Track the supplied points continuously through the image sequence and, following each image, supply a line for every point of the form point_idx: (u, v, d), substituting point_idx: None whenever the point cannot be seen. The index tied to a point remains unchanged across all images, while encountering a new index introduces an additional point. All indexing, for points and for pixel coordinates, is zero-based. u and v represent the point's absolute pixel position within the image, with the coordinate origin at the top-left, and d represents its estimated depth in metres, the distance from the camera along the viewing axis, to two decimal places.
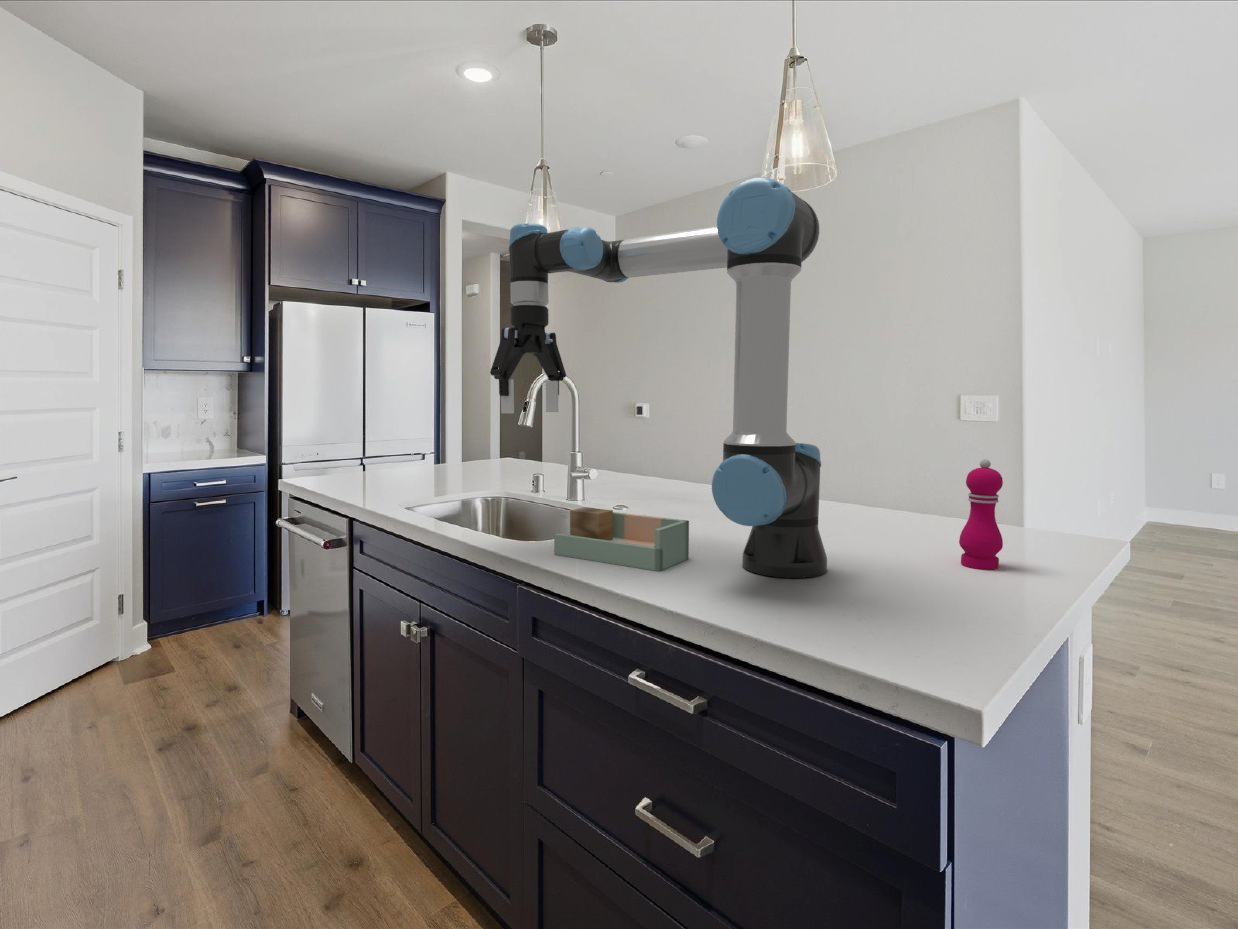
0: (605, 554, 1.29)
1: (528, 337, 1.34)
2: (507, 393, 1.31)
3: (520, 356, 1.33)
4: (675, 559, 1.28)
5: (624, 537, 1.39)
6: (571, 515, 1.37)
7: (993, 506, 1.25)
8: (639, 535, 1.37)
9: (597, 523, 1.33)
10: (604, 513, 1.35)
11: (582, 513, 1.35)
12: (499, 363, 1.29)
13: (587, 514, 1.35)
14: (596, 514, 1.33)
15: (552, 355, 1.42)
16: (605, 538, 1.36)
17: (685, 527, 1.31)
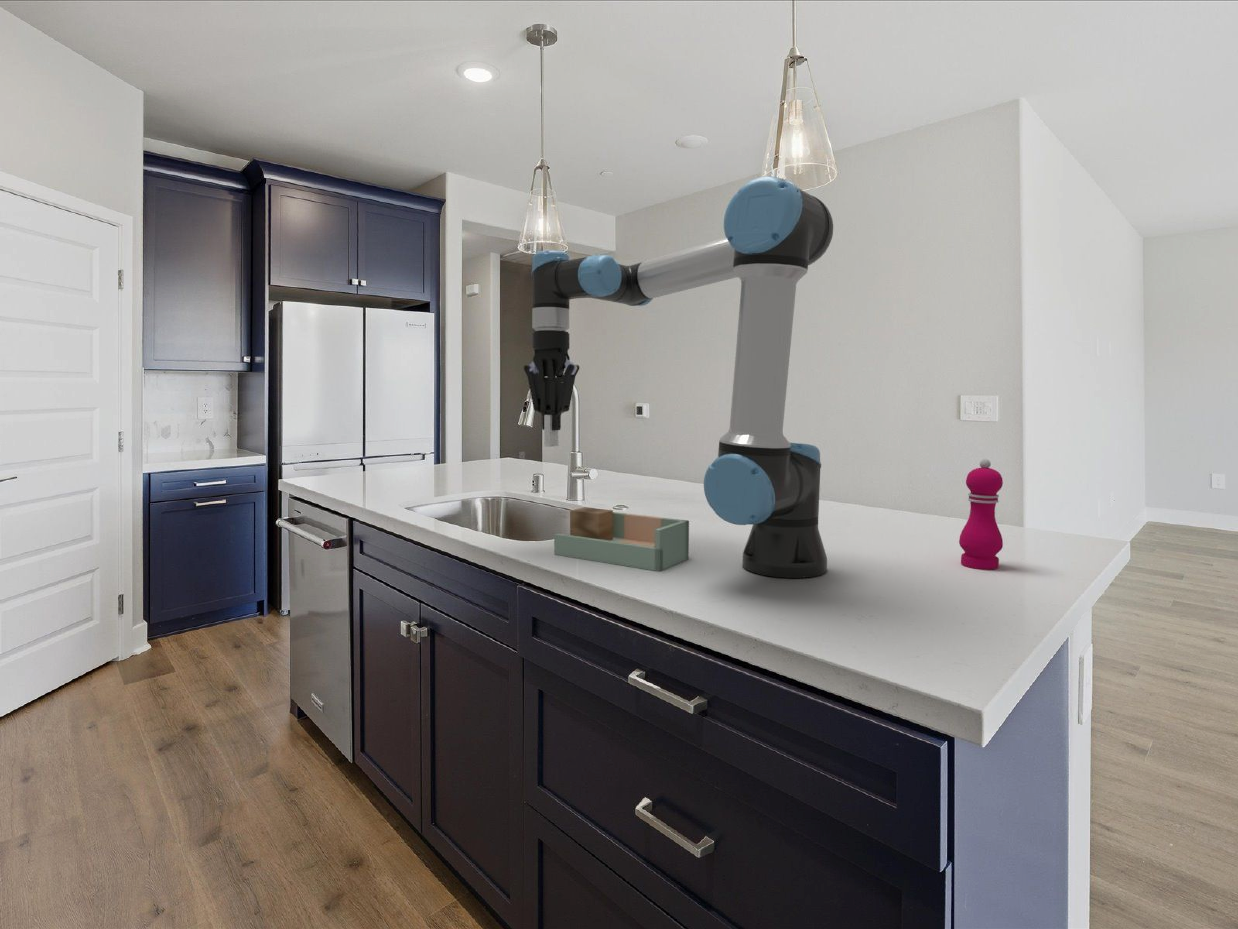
0: (605, 554, 1.29)
1: None
2: None
3: (543, 386, 1.40)
4: (675, 559, 1.28)
5: (624, 537, 1.39)
6: (571, 515, 1.37)
7: (993, 506, 1.25)
8: (639, 535, 1.37)
9: (597, 523, 1.33)
10: (604, 513, 1.35)
11: (582, 513, 1.35)
12: None
13: (587, 514, 1.35)
14: (596, 514, 1.33)
15: None
16: (605, 538, 1.36)
17: (685, 527, 1.31)
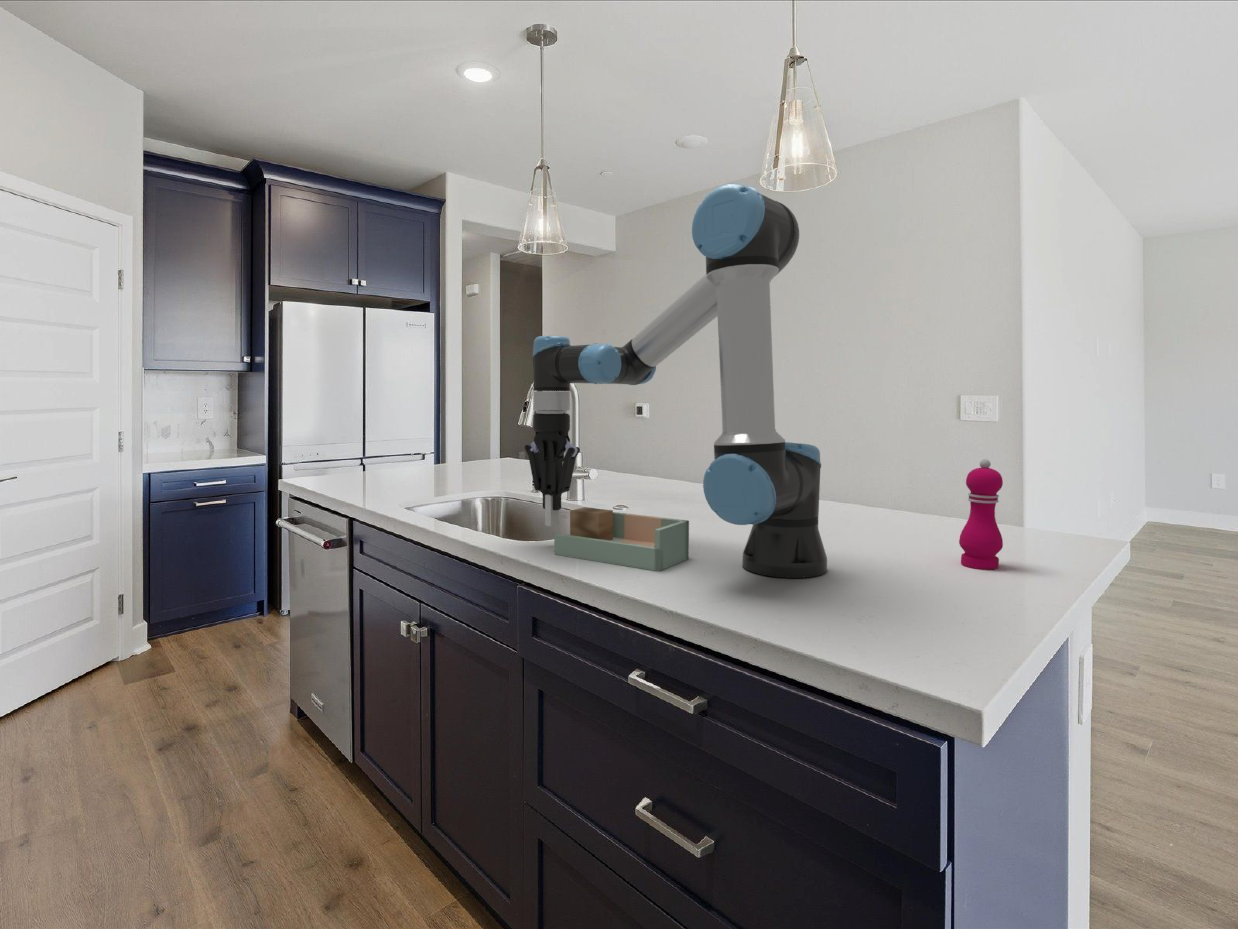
0: (605, 554, 1.29)
1: None
2: None
3: (544, 466, 1.41)
4: (675, 559, 1.28)
5: (624, 537, 1.39)
6: (571, 515, 1.37)
7: (993, 506, 1.25)
8: (639, 535, 1.37)
9: (597, 523, 1.33)
10: (604, 513, 1.35)
11: (582, 513, 1.35)
12: None
13: (587, 514, 1.35)
14: (596, 514, 1.33)
15: None
16: (605, 538, 1.36)
17: (685, 527, 1.31)
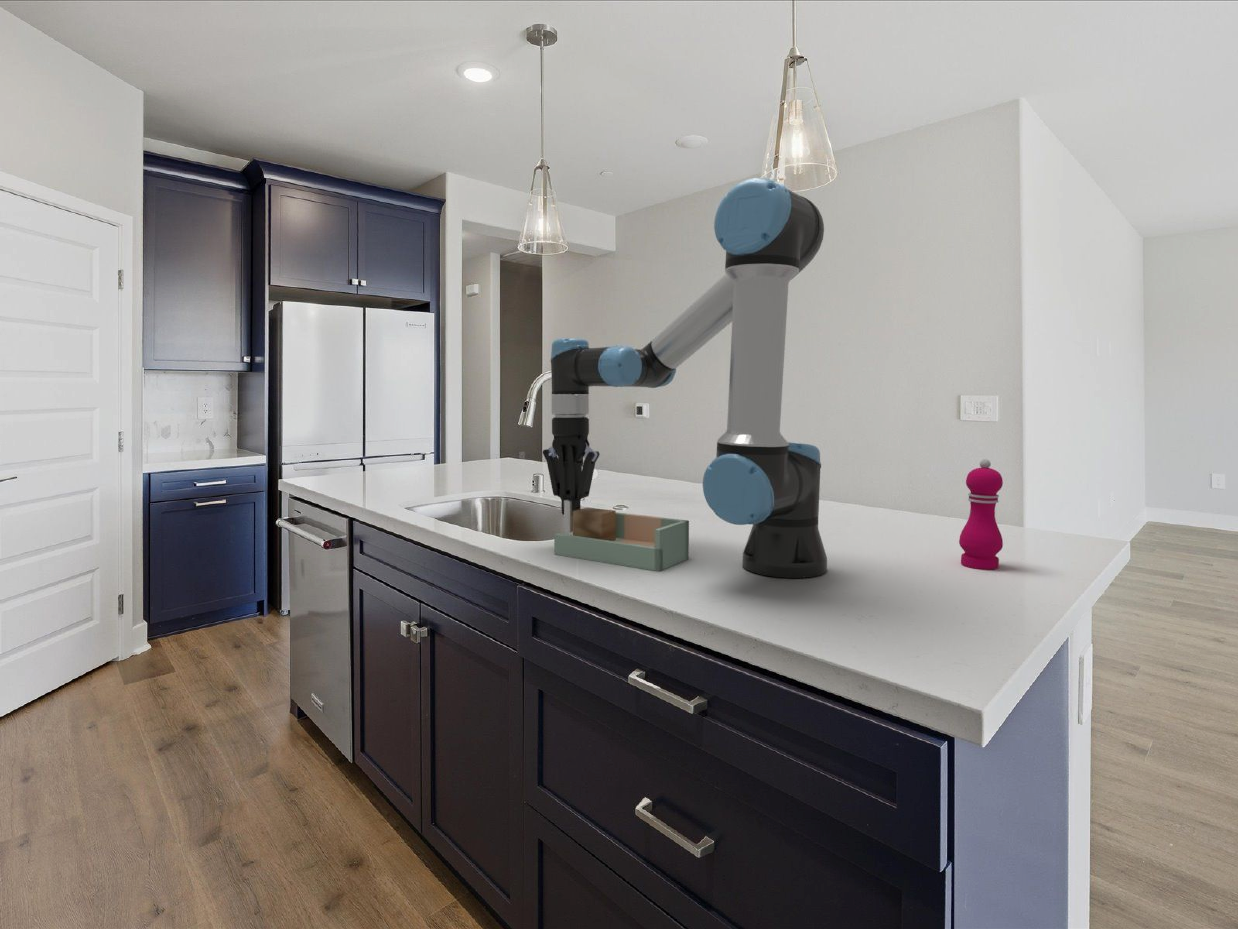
0: (605, 554, 1.29)
1: None
2: None
3: (563, 471, 1.39)
4: (675, 559, 1.28)
5: (624, 537, 1.39)
6: (574, 515, 1.36)
7: (993, 506, 1.25)
8: (639, 535, 1.37)
9: (600, 523, 1.33)
10: (607, 513, 1.34)
11: (585, 513, 1.35)
12: None
13: (590, 514, 1.34)
14: (599, 514, 1.33)
15: None
16: (608, 538, 1.35)
17: (685, 527, 1.31)
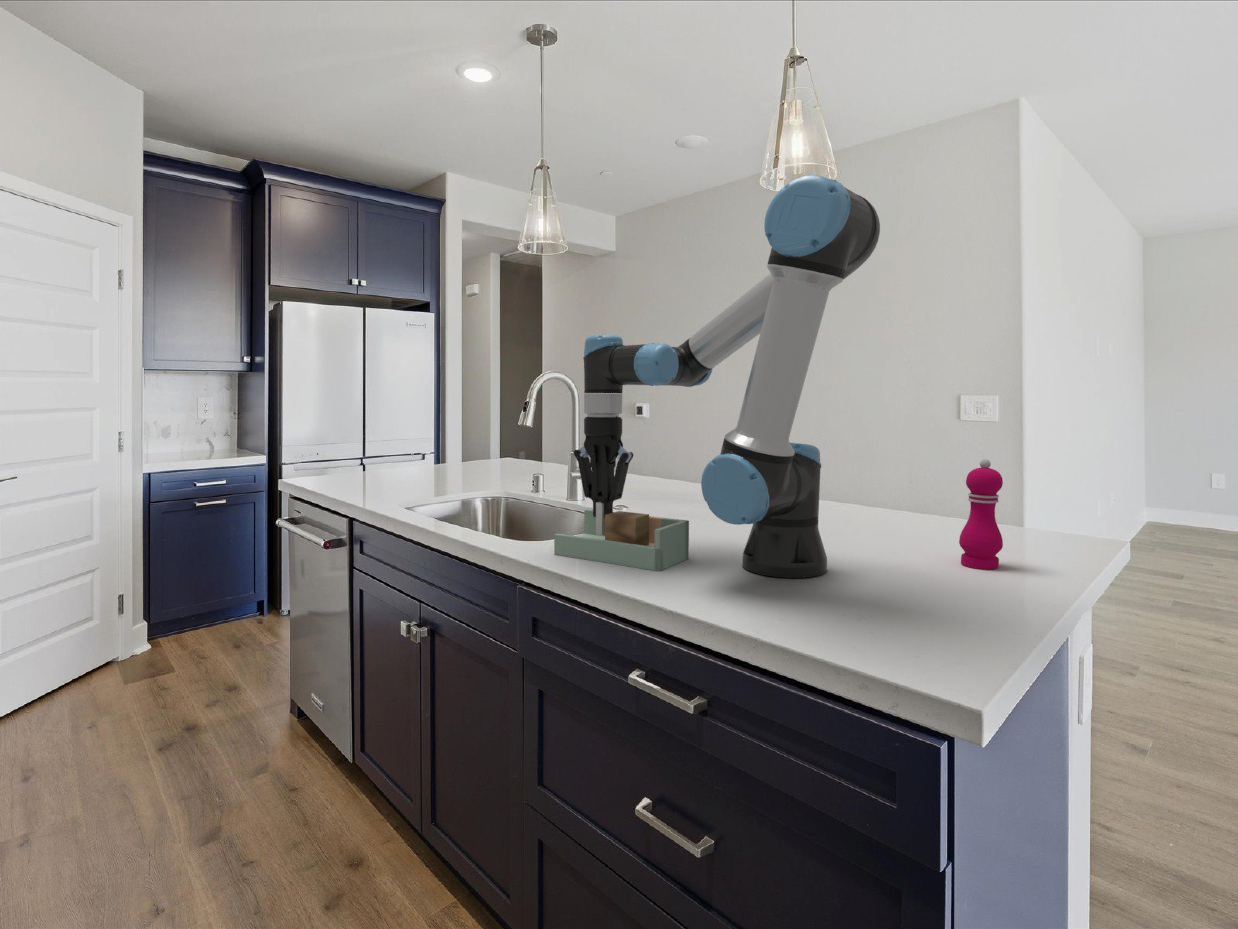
0: (605, 554, 1.29)
1: None
2: None
3: (595, 472, 1.34)
4: (675, 559, 1.28)
5: None
6: (606, 519, 1.32)
7: (993, 506, 1.25)
8: None
9: (634, 527, 1.29)
10: (641, 517, 1.30)
11: (618, 517, 1.31)
12: None
13: (623, 518, 1.30)
14: (633, 518, 1.29)
15: None
16: (641, 543, 1.31)
17: (685, 527, 1.31)
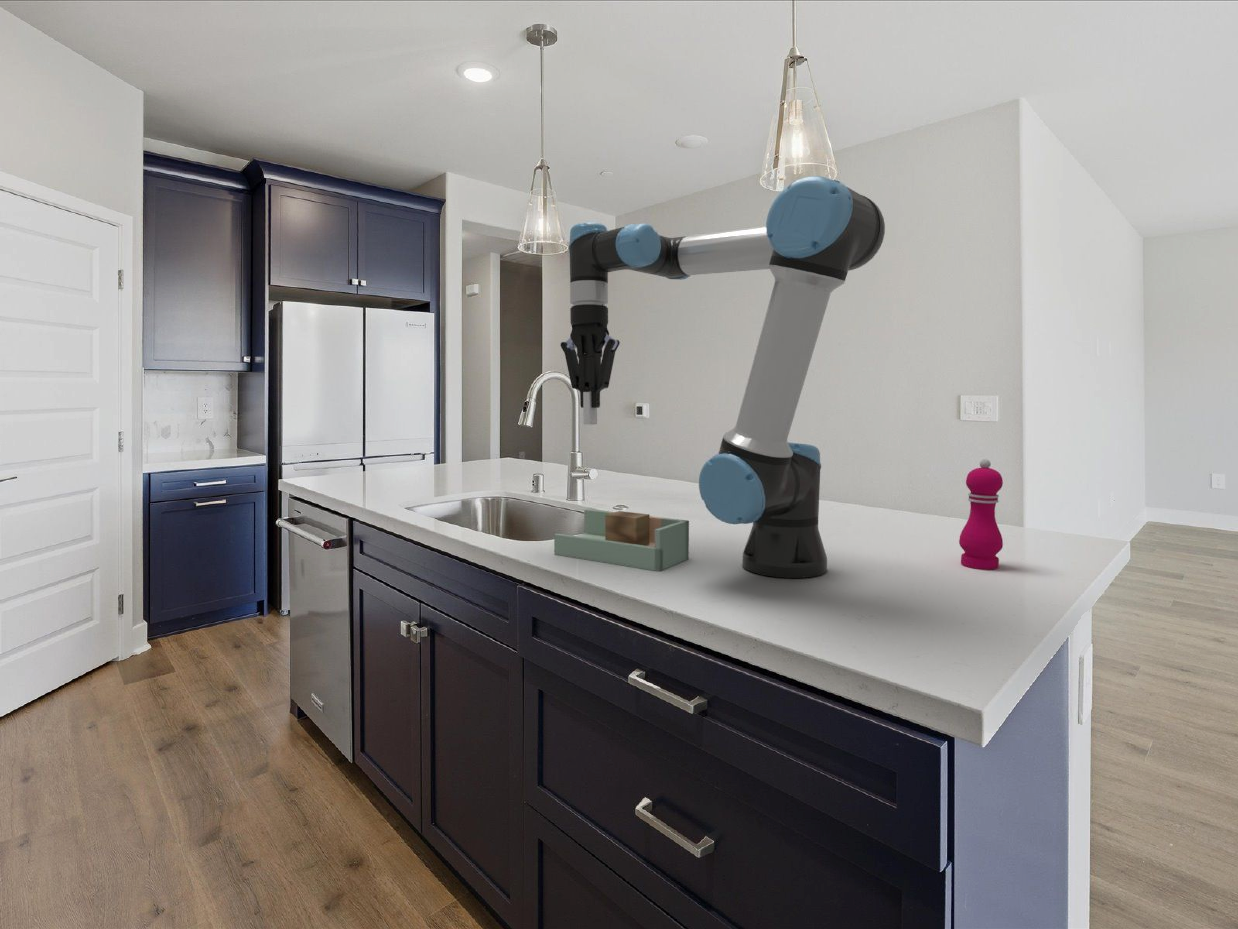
0: (605, 554, 1.29)
1: None
2: None
3: (581, 362, 1.36)
4: (675, 559, 1.28)
5: None
6: (606, 519, 1.32)
7: (993, 506, 1.25)
8: None
9: (634, 527, 1.29)
10: (641, 517, 1.30)
11: (618, 517, 1.31)
12: None
13: (624, 518, 1.30)
14: (633, 518, 1.29)
15: None
16: (642, 543, 1.31)
17: (685, 527, 1.31)
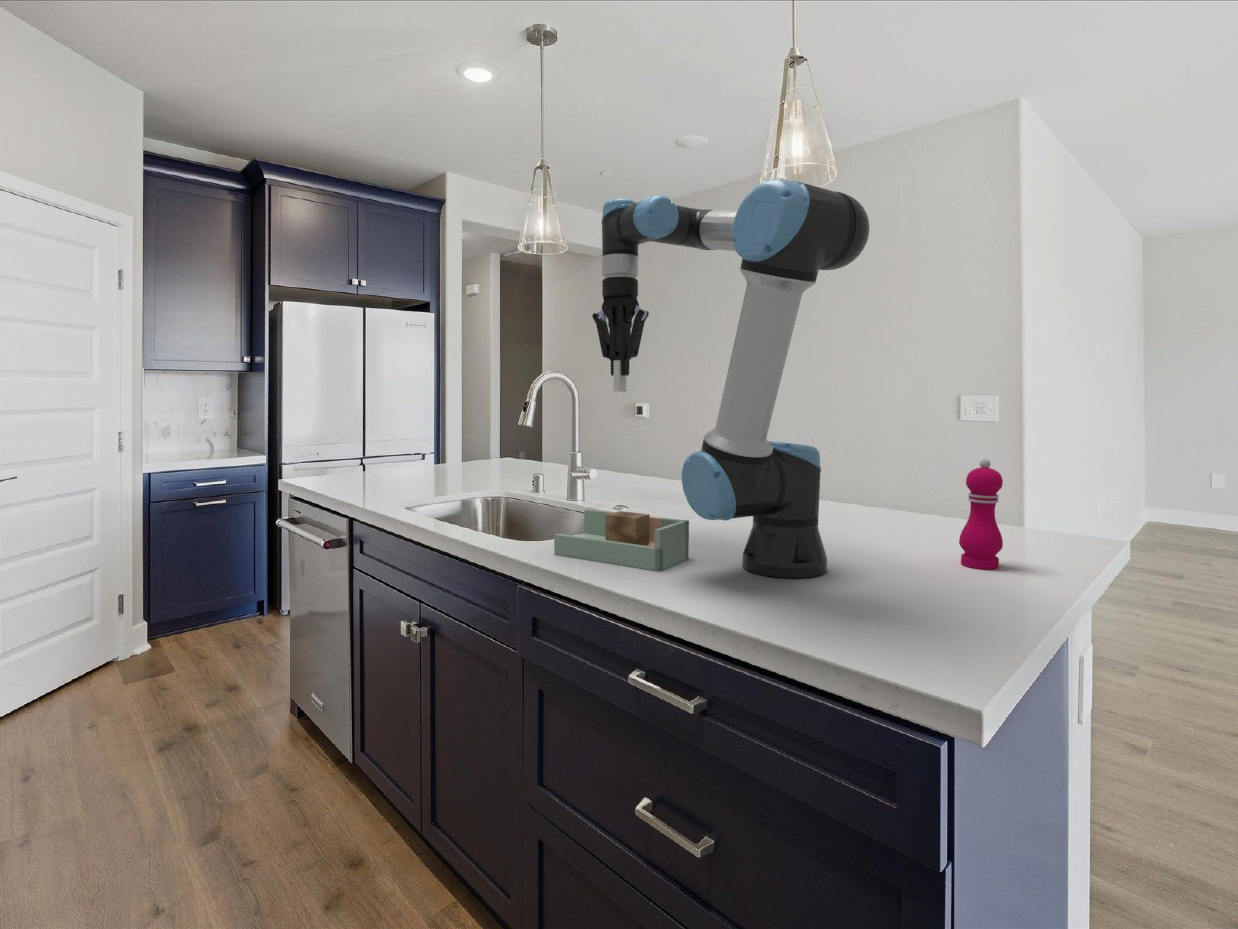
0: (605, 554, 1.29)
1: None
2: (613, 373, 1.45)
3: (612, 332, 1.44)
4: (675, 559, 1.28)
5: None
6: (606, 519, 1.32)
7: (993, 506, 1.25)
8: None
9: (634, 527, 1.29)
10: (641, 517, 1.30)
11: (618, 517, 1.31)
12: None
13: (624, 518, 1.30)
14: (633, 518, 1.29)
15: None
16: (642, 543, 1.31)
17: (685, 527, 1.31)
